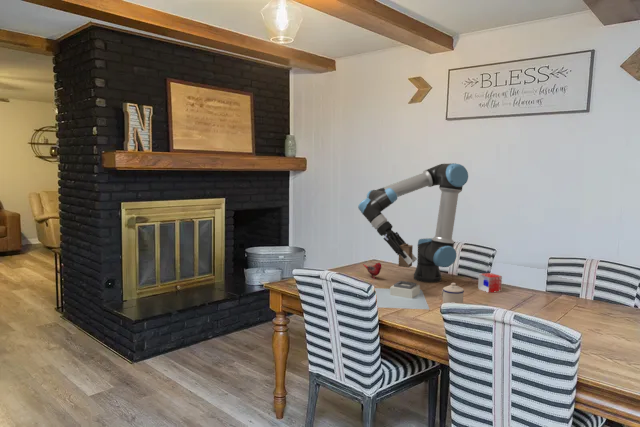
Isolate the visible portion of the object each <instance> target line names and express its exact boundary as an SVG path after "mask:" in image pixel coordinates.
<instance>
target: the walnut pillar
mask: <svg viewBox="0 0 640 427" xmlns="http://www.w3.org/2000/svg"><path fill="white" fill-rule="evenodd" d="M413 246H414V245H412V244H411V245H410V244H409V243H406V244H403V245H400V247H401V248H402V250H403V251H405V252H406V253H407V255H408V256H409V257H410V258H411V259H412V254H413ZM412 266H413V263H412V262H411V263H410V264H409V265H408V264H407V262H406V261H405V260H404V259H403V258H402V256H401V255H400V254H399V255H398V267H402V268H410V267H412Z"/></svg>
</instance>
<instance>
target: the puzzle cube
mask: <svg viewBox="0 0 640 427" xmlns="http://www.w3.org/2000/svg"><path fill="white" fill-rule="evenodd" d="M502 279H503V276H502V275H499V274H495V273H493V272H486V273H479V274H478V284H477V287H478V288H477V289H478V290H480V291H483V292H485V291H486V293H488V292H491V293H495V292H494V291H499V290H501V291H502V285H503V284H502V282H503V280H502Z"/></svg>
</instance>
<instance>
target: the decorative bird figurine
mask: <svg viewBox="0 0 640 427" xmlns="http://www.w3.org/2000/svg"><path fill="white" fill-rule="evenodd" d="M362 265H363V266H364V267H365V268H366V269H367V272H368V273H369V274H370V276H371V278H372V279H373V280H374V279H375V280H378V278H377V277H376V276H378V275H379V274H380V272H381V269H382V264H381V262H376V263H375V264H374V265H373V264H372V265H366V264H362Z"/></svg>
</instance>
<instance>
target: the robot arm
mask: <svg viewBox="0 0 640 427" xmlns="http://www.w3.org/2000/svg"><path fill="white" fill-rule="evenodd" d="M468 180H469V173H468V170H467V169H466V167H465V166H464V165H462V164H459V163H456V162H455V163H452V162H451V163H440V164H436V165H435V166H432V167H430V168H428V169H425V170H423V171H422V172H421V173H419V174H416V175H413V176H411V177H408V178H406V179H402V180H400V181H397V182H395V183H392V184H389V185H386V186H383V187H380V188H378V189H372V190H369V191H368V192H367V194H366V198H365V199H363V200H362V201H361V202H360V203H359V204H358V210H359V211H360V213H361V214H362V215H363V216H364V217H365V219H367V221H368V222H369V224H370V225H371V227H372V228H374V229H375V230H376V232H377V233H378V234H379V236H383V240H384V241H385V242H386V243H387V244H388V245H389V246H390V248H391V249H392V251H394V252H395V254H396V255H397V256H399V254H400V255H401V256H402V258H403V259H404V260H405V261H406V262H407V264H408V265H409V264H410V263H411V262H412V264H414V263H415V262H416V261H417V264H416V268H415V271H414V274H413V279H414V280H415V281H418V282H422V283H423V282H424V283H437V282H441V281H442V277H443V276H442V272H441V269H440V267H441V268H448V267H450V266H452V265H453V264H454V263H455V262H456V259H457V251H456V249H455V248H454V246H455V242H454V240H453V233H454V226H455V220H456V219H455V218H456V213H457V205H458V199H459V194H460V193H461V192H462V191H463V187H464V185H466V183H467V182H468ZM434 186H439V187H438V188H439V190H440V191H441V192H440V193H441V194H440V201H439V208H438V214H437V221H436V230H435V235H434V237H433V238H432V237H431V238H428V237H426V238H419V239H418V241H417V257H416V256H415V255H414V254H413V253H412V259H411V258H410V257H409V256H408V255H407V253H406V252H405V251H403V250H402V248H401V247H400V245H403V244H407V243H406V241H405V240H404V239H403V238H402V237H401V236H400V234H399V233H398V231H396V232H395V231H393V230H392V229H393V225H392V224H391V222H390V221H389V220H388V219H387V217H385V215H384V214H383V213H382V212H383V211H384V210H385V209H387V208H388V207H390V206H391V205H392V204H394V203H395V202H396V201H397V200H398V197H401V196H404V195H406V194H407V195H408V194H409V193H413V192H415V191H418V190H421V189H423V188H426V187H428V188H432V187H434Z"/></svg>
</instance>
